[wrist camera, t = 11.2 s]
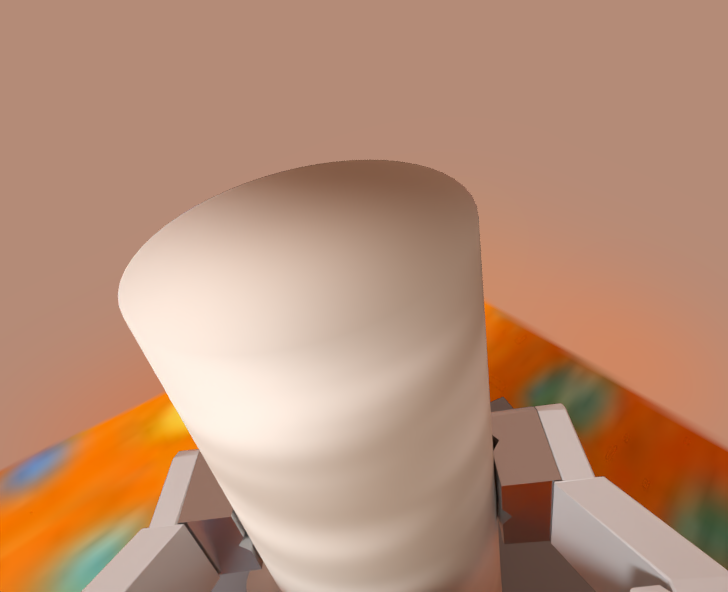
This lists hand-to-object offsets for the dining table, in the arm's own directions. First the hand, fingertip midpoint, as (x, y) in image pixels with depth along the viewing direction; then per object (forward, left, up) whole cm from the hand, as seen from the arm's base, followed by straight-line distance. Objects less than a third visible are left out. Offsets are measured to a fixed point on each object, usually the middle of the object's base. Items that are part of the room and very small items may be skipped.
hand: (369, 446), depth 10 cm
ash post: (0, -1, -7) cm, 7 cm away
